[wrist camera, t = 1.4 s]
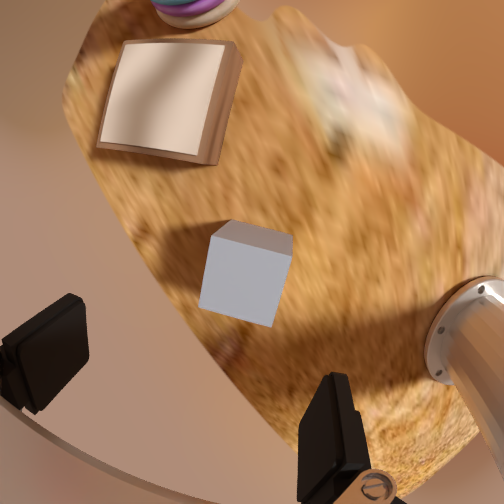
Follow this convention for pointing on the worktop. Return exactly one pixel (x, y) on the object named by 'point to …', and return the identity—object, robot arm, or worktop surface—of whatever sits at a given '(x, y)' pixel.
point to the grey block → (246, 272)
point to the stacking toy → (193, 11)
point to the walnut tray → (171, 98)
